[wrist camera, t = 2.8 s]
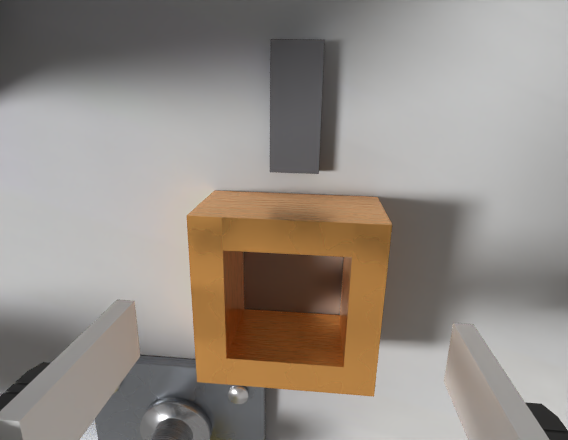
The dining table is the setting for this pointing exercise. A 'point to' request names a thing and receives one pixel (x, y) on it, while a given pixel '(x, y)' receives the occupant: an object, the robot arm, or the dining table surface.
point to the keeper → (179, 406)
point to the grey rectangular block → (295, 105)
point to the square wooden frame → (278, 324)
